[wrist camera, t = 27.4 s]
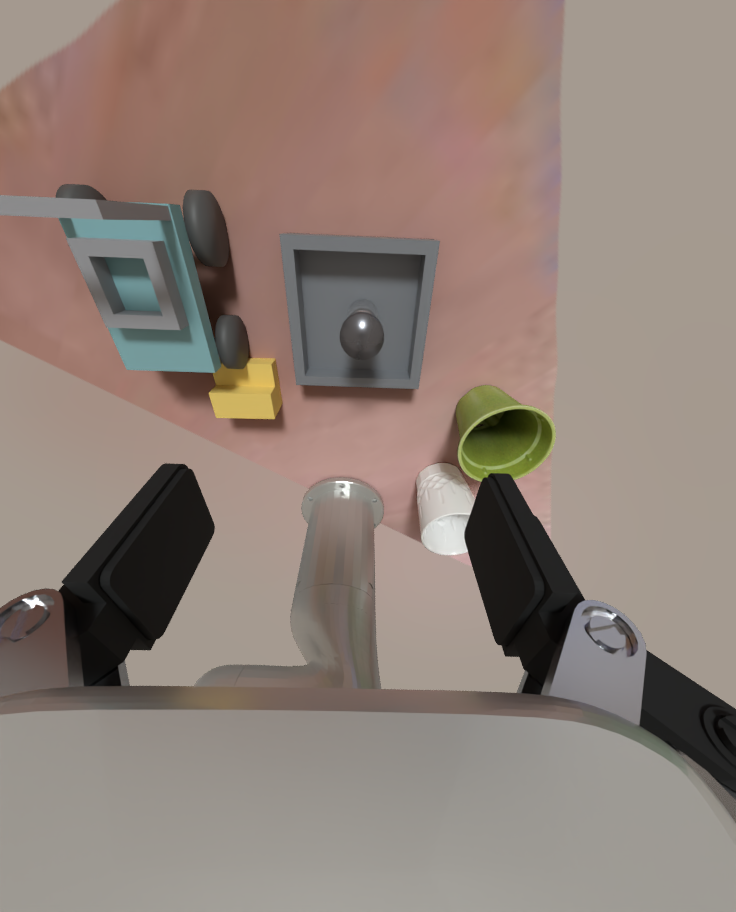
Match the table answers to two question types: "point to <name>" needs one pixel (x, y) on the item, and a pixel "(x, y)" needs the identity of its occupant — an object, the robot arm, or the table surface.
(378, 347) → the pin
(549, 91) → the table surface
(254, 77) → the table surface
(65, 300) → the table surface
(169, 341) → the trolley
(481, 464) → the plant pot
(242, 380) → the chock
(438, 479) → the white cup
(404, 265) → the tray
